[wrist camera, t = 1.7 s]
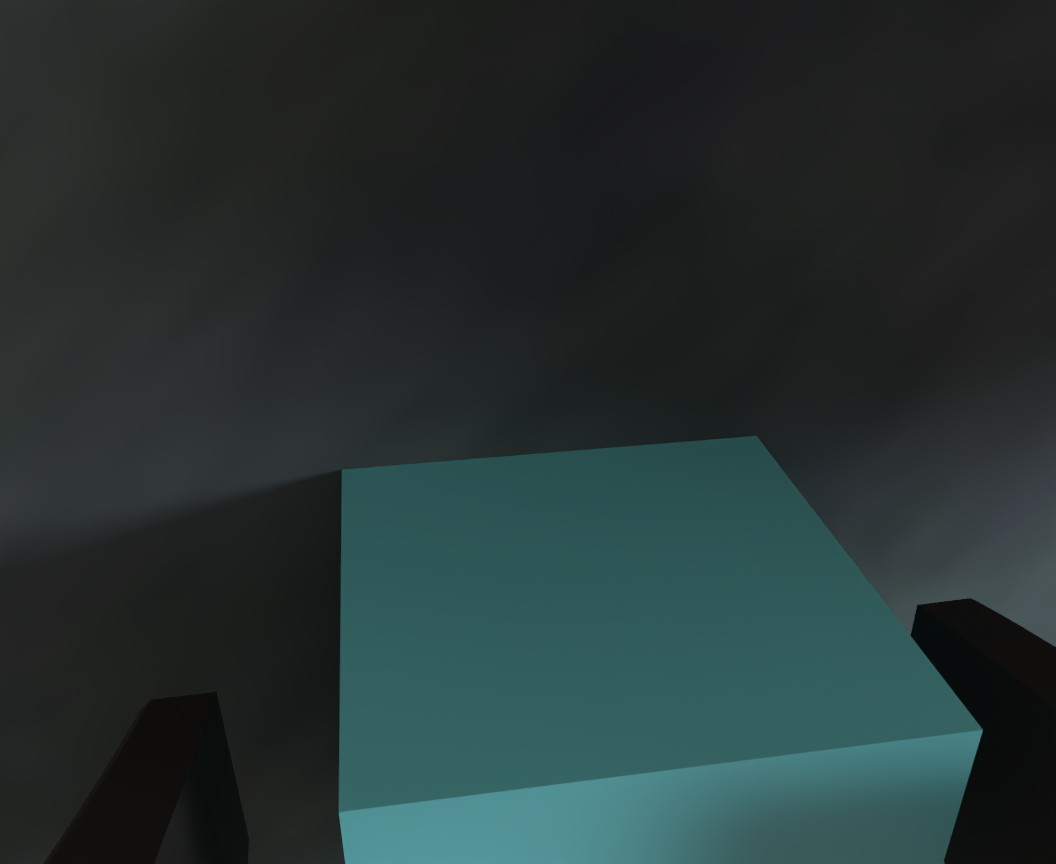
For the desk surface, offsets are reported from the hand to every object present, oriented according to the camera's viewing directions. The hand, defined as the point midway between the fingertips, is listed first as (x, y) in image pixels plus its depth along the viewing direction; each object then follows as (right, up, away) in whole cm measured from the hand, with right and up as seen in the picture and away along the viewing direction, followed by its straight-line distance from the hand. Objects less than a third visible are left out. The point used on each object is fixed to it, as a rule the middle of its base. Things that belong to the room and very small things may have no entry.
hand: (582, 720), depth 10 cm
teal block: (0, +1, +2) cm, 2 cm away
